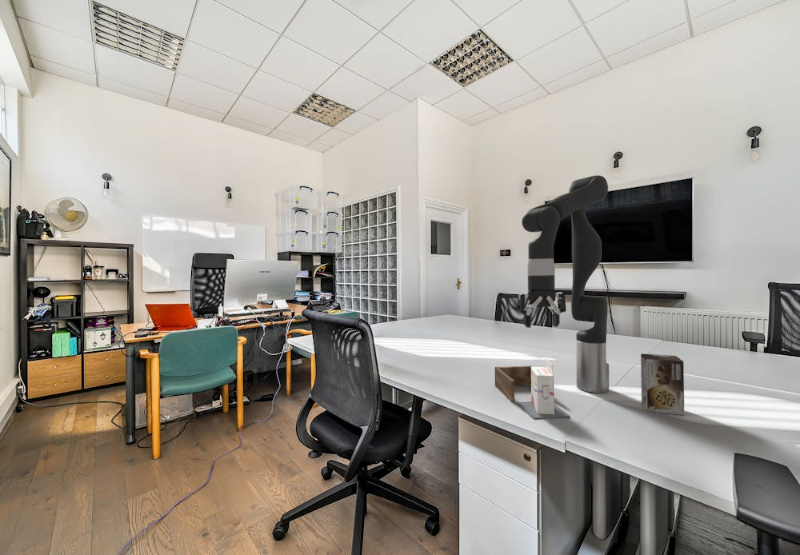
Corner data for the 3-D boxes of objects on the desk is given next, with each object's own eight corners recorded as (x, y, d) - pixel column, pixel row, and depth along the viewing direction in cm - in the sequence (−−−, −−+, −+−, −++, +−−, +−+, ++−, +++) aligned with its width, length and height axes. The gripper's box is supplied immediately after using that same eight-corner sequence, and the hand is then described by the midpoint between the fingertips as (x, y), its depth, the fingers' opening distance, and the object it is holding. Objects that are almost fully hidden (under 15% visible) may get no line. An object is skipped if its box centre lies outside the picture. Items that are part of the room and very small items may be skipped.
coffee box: (676, 407, 98) (676, 355, 98) (685, 416, 92) (685, 361, 92) (640, 402, 102) (640, 352, 102) (646, 411, 96) (646, 357, 96)
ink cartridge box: (530, 402, 103) (529, 357, 102) (546, 403, 102) (546, 357, 102) (537, 414, 94) (536, 364, 94) (555, 415, 93) (554, 365, 93)
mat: (550, 401, 104) (550, 400, 104) (570, 417, 93) (570, 416, 93) (517, 403, 103) (517, 402, 103) (533, 419, 92) (533, 417, 92)
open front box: (531, 384, 120) (531, 365, 120) (552, 400, 105) (552, 379, 105) (494, 385, 119) (494, 367, 119) (511, 402, 104) (511, 381, 104)
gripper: (556, 273, 101) (557, 324, 102) (513, 274, 100) (513, 325, 101) (570, 273, 94) (571, 328, 94) (523, 274, 93) (524, 330, 93)
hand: (541, 326), depth 97 cm, fingers open, 8 cm apart
